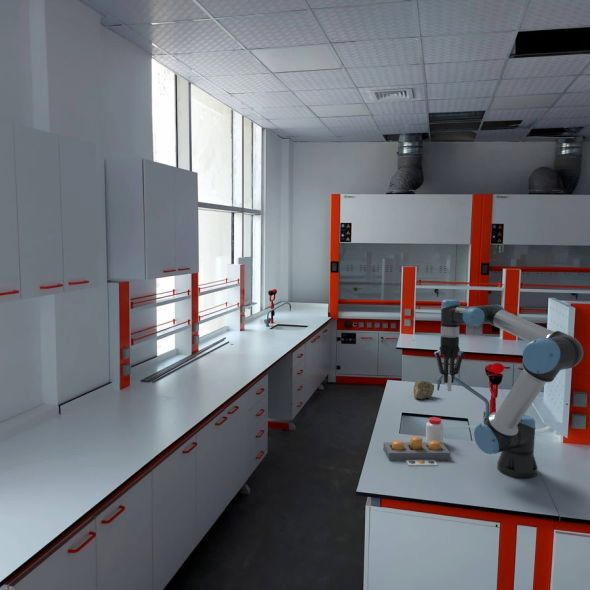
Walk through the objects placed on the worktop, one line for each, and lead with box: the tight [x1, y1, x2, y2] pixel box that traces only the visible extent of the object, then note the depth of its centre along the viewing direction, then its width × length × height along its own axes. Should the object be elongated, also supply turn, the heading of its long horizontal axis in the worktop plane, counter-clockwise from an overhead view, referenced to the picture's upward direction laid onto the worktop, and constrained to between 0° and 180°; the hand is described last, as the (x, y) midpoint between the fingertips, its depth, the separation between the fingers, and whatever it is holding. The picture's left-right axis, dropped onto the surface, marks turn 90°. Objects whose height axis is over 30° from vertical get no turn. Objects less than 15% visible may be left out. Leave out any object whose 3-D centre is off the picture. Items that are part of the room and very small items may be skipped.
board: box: [383, 441, 451, 461], centre depth 240 cm, size 26×12×3 cm, turn 92°
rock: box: [412, 380, 435, 400], centre depth 325 cm, size 11×12×10 cm
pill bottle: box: [425, 416, 445, 444], centre depth 254 cm, size 8×8×11 cm
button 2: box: [428, 441, 441, 450], centre depth 241 cm, size 5×5×4 cm
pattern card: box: [405, 460, 438, 467], centre depth 231 cm, size 12×5×1 cm, turn 92°
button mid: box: [409, 436, 423, 450], centre depth 240 cm, size 5×5×4 cm
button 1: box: [392, 440, 404, 450], centre depth 240 cm, size 5×5×4 cm
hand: (448, 390), depth 238 cm, fingers closed
